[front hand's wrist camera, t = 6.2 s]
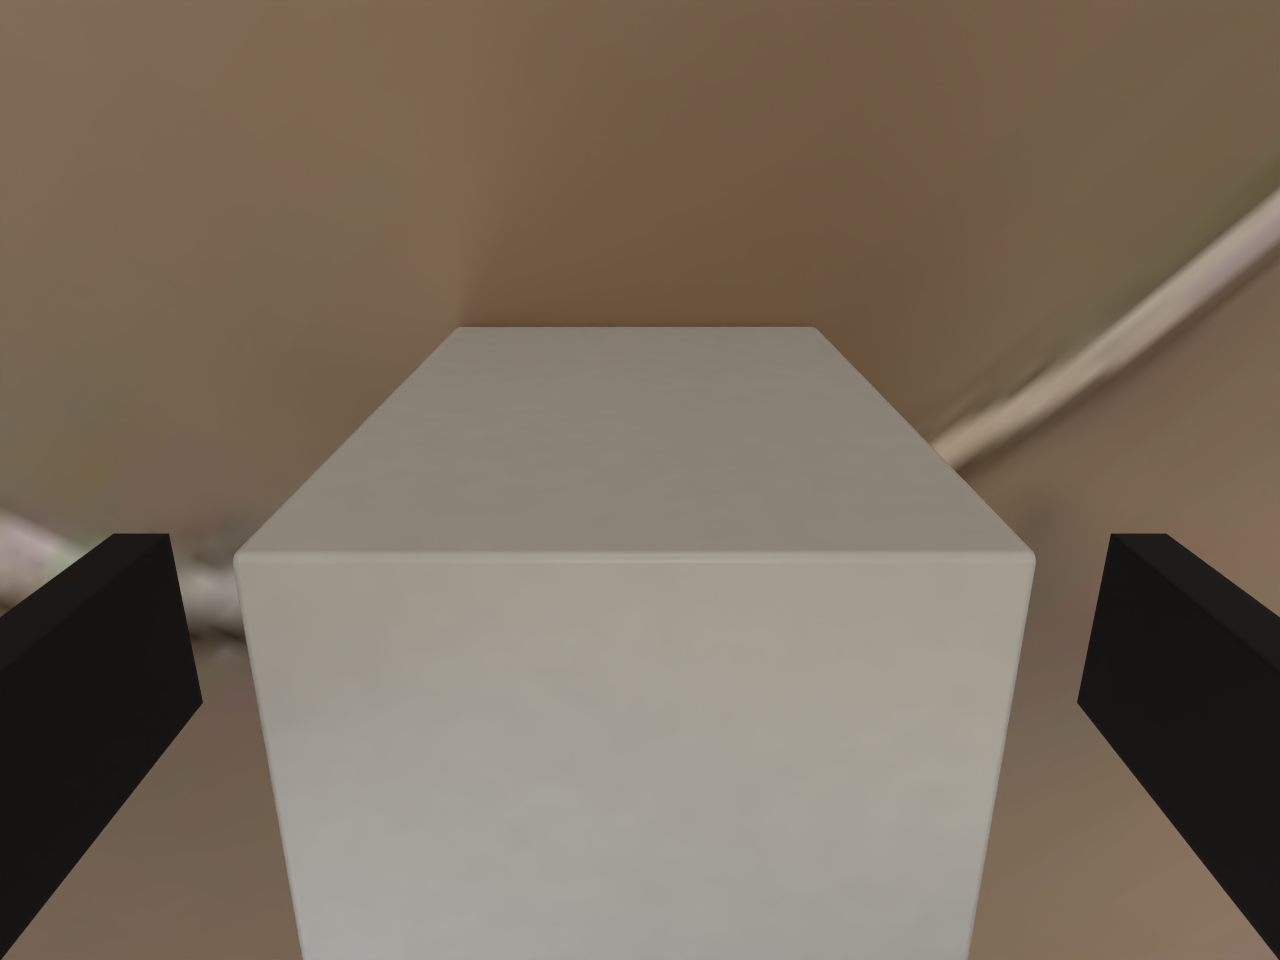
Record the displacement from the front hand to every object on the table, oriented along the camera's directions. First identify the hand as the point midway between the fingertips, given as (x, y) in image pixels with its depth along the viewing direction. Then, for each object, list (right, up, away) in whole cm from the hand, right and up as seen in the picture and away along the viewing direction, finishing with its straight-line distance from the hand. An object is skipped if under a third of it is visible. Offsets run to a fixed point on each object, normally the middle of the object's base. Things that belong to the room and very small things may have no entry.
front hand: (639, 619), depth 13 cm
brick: (0, +1, +3) cm, 3 cm away
